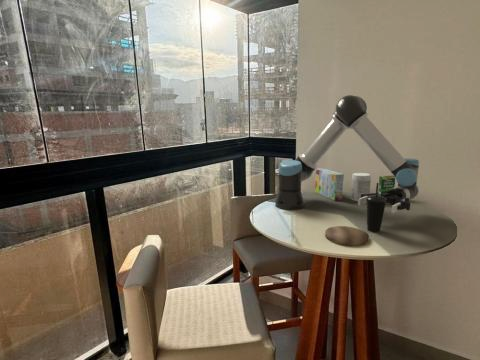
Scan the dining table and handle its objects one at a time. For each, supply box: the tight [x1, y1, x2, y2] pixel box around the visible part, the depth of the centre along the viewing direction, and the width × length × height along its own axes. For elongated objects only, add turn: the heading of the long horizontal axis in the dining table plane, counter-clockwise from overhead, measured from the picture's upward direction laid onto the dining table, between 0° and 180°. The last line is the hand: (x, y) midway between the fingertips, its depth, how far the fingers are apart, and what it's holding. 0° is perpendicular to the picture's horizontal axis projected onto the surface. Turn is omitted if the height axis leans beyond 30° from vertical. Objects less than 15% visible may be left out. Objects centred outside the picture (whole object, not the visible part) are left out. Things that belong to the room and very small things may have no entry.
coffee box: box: [378, 174, 396, 194], centre depth 164 cm, size 8×3×13 cm, turn 92°
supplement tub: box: [350, 172, 372, 202], centre depth 162 cm, size 10×10×15 cm
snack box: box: [314, 167, 345, 202], centre depth 172 cm, size 21×6×15 cm, turn 17°
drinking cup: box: [366, 182, 387, 233], centre depth 119 cm, size 8×8×20 cm
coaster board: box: [324, 225, 370, 247], centre depth 114 cm, size 16×16×2 cm
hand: (375, 205), depth 118 cm, fingers open, 13 cm apart
